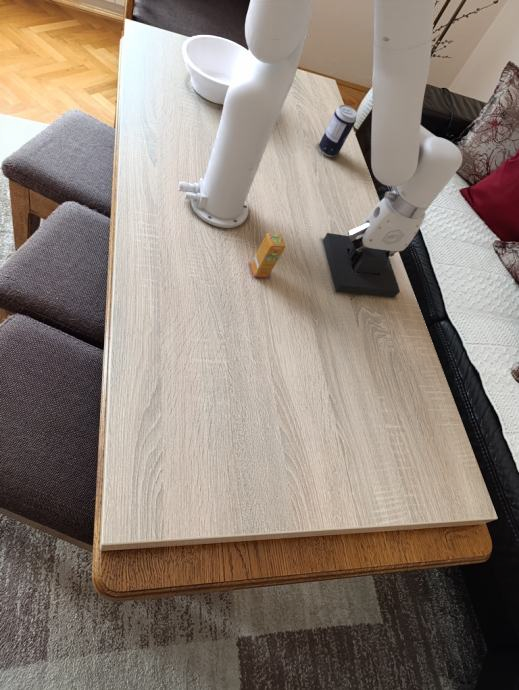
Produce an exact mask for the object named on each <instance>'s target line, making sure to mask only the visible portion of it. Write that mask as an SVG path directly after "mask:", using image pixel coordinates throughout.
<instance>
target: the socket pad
mask: <svg viewBox="0 0 519 690" xmlns="http://www.w3.org/2000/svg"><path fill="white" fill-rule="evenodd" d="M322 244H323V248H324V252H325V255H326V259H327V264H328V267H329V270H330V275H331V279H332V282H333V288H334V292H335V293H339V294H351V295H360V296H370V297H371V296H372V297H379V298H380V297H382V298H390V299H395V298H396V297H397V296H398V295H399V293H400V292H401V291H400V287H399V283H398V280H397V278H396V275H395V272H394V269H393V266H392V262H391V260H390V257H389V258H388V259H387V260H388V262H387V263H386V265H385V266H384V267H383V268H382V270H381V271H380V272H379V274H378V275H377V274H368V273H359V272H354V268H353V265H351V263H350V259H349V257H348V254H349V251H350V249H351V248H352V246H353V243H352V241H351V240H350V238H349V235H344V234H337V233H332V232H331V233H330V232H327V233H326V234H325V235H324V237H323V239H322Z"/></svg>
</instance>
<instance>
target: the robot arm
mask: <svg viewBox="0 0 519 690" xmlns="http://www.w3.org/2000/svg"><path fill="white" fill-rule="evenodd" d="M435 8H436V0H373V54H372V55H373V56H372V57H373V58H372V59H373V60H372V61H373V62H372V63H373V64H372V65H373V66H372V76H371V77H372V78H371V79H372V81H371V83H372V85H371V87H372V88H371V89H372V91H371V92H372V94H371V95H372V107H371V136H370V138H371V139H370V148H371V149H370V164H371V166H370V167H371V170H372V174H373V176H374V177H375V179H376V181H378V182H379V183H380V184H381V185H384V186H386V187H393V188H392V189H391V190H390V191H386V192H385V193H384V196H383V198H382V199H381V200H380V201H379V202H378V203H377V204H376V205H375V206H374V207H373V208H372V210H371V211H370V213H368V215H367V216H366V217H365V219H364V220H363V222H362V224H361V225H359V226H357V227H355V228H353V229H350V230H349V231H348V232H347V234H348V235H347V236H349V238H350V240H351V241H352V243H353V245H354V246H353V248H352V249H351V251H350V252H349V254H348V257H349V259H350V263H351V265H352V266H353V265H355V263H356V262H357V261H358V259H359V258H360V256H361V255H362V251H363V250H364V249H365V248H367V247H368V248H373V249H380V250H384V251H385V254H386V257H387V259H388V258H389V259H390V258H392V257H394V256H395V254H396V253H398V252H399V253H400V252H402V251H404V250H405V249H407V248H410V247H412V246H413V245H414V243H413V239H414V238H415V236H416V235H417V233H418V232H419V230H420V228H421V227H422V224H423V222H424V220H425V218H426V211H428V209H429V207H430V206H431V205H432V204H433V203H434V201H435V200H436V198H437V197H438V196H439V195H440V194H441V192H442V191H443V190H444V189H445V187H446V186H447V185H448V183H450V181H451V180H452V178H453V177H454V176H455V174H456V173H457V171H458V170H459V169H460V168H461V166H462V164H463V155H462V152H461V150H460V149H459V148H458V146H457V145H456V144H455V143H453V142H452V141H450V140H448V139H446V138H443V137H439V136H436V135H435V134H434V133H432V132H431V131H430V130H428V129H427V128H425V127H424V126H423V125H422V124H421V123H422V112H423V105H424V97H425V92H426V87H427V84H428V83H427V82H428V77H429V72H430V65H431V64H430V63H431V58H432V57H431V55H432V45H433V43H432V42H433V31H434V22H435V21H434V20H435V10H436V9H435ZM313 14H314V0H250V1H249V5H248V9H247V13H246V16H245V22H244V37H245V42H246V45H247V48H248V49H247V50H248V53H247V57H246V59H245V60H244V62H243V63H242V65H241V66H240V68H239V69H238V71H237V73H236V74H235V76H234V78H233V79H232V81H231V83H230V85H229V88H228V90H227V93H226V97H225V101H224V105H223V107H222V111H221V117H220V121H219V125H218V128H217V132H216V136H215V139H214V143H213V146H212V150H211V154H210V157H209V161H208V164H207V168H206V171H205V175H204V178H203V177H200V178H199V181H198V182H193V183H189V182H186V181H181V180H180V181H179V182H178V184H177V185H178V186H177V190H178V191H179V192H185V193H184V199H185V200H190V204H191V208H192V210H193V211H194V213H195V214H196V215H197V217H199V219H201V220H203V221H204V222H205V223H207V224H209V225H211V226H214V227H218V228H223V229H232V228H236V227H239V226H240V225H242V224H244V223H245V221H246V220H247V217H248V215H249V205H248V202H247V198H248V195H249V192H250V190H251V187H252V185H253V182H254V179H255V177H256V174H257V172H258V170H259V167H260V164H261V162H262V159H263V156H264V154H265V151H266V149H267V147H268V146H267V145H268V143H269V140H270V138H271V135H272V133H273V131H274V128H275V126H276V123H277V120H278V119H279V116H280V114H281V111H282V108H283V106H284V104H285V102H286V100H287V97H288V94H289V92H290V91H291V88H292V85H293V83H294V81H295V77H296V74H297V71H298V67H299V64H300V60H301V57H302V53H303V51H304V48H305V43H306V41H307V36H308V33H309V30H310V26H311V23H312V19H313ZM178 191H177V192H178ZM361 242H363V244H361Z"/></svg>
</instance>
